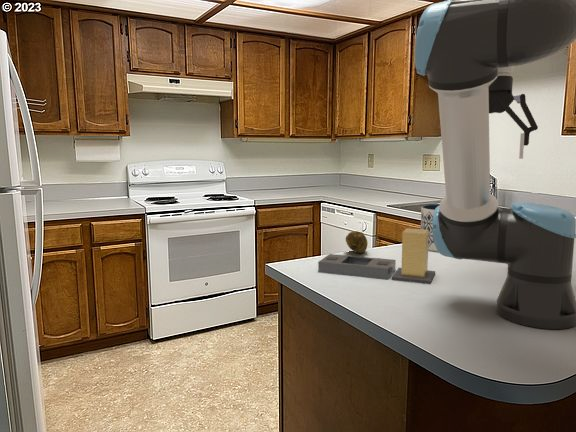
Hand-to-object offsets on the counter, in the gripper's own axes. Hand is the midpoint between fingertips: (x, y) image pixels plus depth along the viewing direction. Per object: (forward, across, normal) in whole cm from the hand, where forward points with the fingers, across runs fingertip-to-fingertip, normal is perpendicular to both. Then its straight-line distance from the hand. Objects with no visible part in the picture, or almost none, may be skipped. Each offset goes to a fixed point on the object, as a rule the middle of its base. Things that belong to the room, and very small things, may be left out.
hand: (492, 158), depth 121 cm
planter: (+32, +14, -28) cm, 45 cm away
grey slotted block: (+32, +34, +11) cm, 48 cm away
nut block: (+31, +18, +11) cm, 37 cm away
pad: (+32, +18, +11) cm, 38 cm away
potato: (+32, +40, -10) cm, 52 cm away
